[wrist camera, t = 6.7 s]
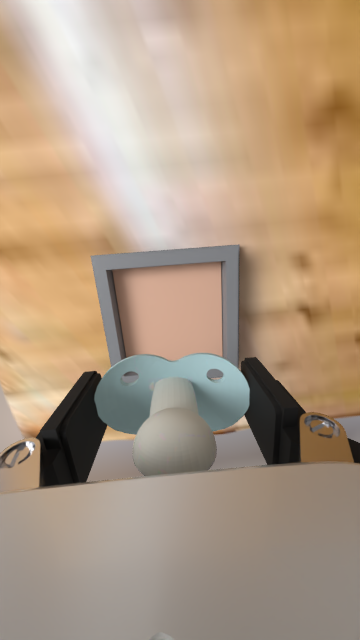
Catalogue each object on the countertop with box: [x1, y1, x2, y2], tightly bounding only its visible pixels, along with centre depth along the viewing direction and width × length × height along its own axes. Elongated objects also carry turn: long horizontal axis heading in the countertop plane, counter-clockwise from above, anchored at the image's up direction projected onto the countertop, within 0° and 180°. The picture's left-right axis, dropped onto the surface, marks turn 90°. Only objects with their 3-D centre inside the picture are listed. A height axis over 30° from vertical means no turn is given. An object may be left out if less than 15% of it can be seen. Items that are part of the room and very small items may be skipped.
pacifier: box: [94, 353, 250, 476], centre depth 10 cm, size 7×6×6 cm
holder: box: [91, 245, 239, 383], centre depth 24 cm, size 16×15×3 cm
